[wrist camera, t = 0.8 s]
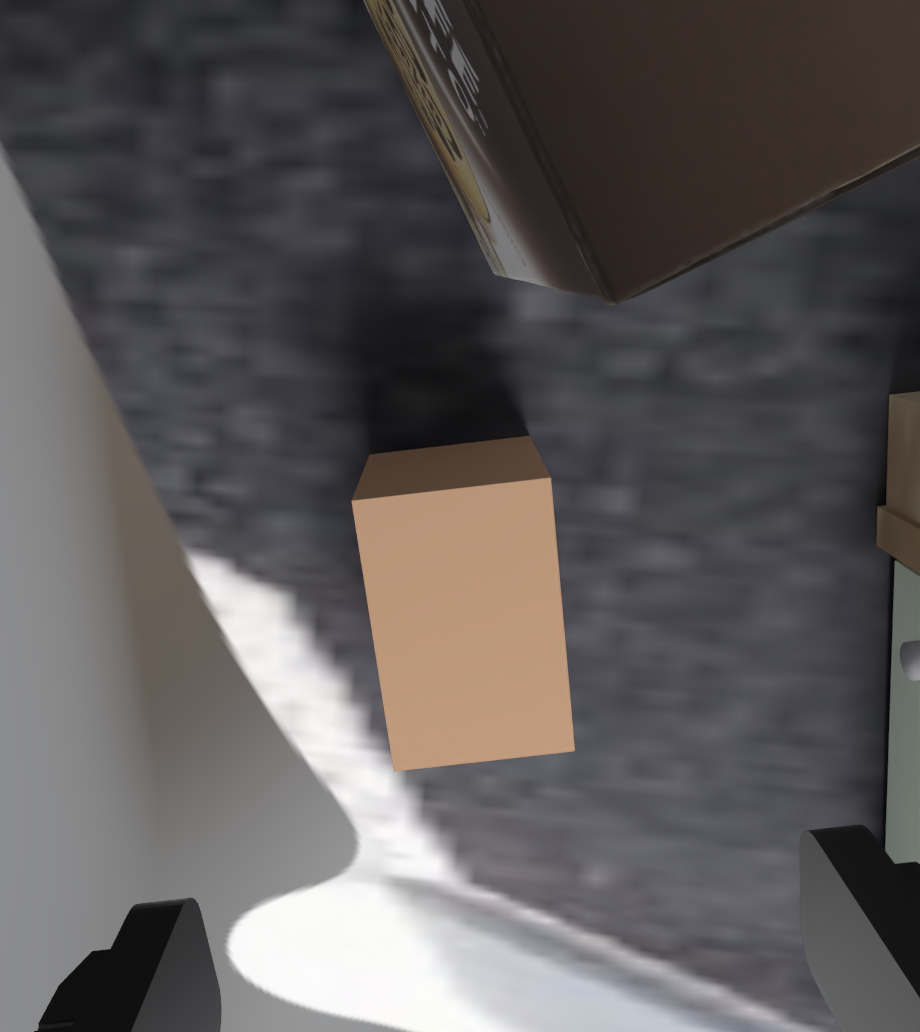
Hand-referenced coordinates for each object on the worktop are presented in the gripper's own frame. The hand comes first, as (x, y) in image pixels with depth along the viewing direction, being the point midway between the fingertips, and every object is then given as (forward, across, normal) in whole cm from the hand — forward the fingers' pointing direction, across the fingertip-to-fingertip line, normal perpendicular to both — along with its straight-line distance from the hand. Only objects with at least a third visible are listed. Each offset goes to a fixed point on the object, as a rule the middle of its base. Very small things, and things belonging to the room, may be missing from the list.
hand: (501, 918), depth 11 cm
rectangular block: (+14, 0, 0) cm, 14 cm away
